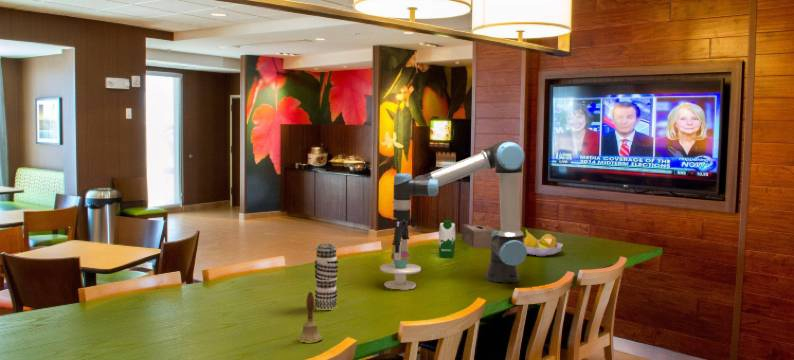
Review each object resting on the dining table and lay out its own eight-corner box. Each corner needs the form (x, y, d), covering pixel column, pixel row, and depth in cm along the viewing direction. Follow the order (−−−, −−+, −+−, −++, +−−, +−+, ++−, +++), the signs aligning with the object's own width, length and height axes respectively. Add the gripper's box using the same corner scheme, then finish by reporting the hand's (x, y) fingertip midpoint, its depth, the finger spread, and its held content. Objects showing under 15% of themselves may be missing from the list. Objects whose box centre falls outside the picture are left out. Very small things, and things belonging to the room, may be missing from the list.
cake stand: (423, 283, 300) (424, 264, 299) (416, 292, 282) (416, 273, 282) (385, 280, 304) (385, 261, 303) (375, 289, 286) (375, 270, 286)
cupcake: (393, 268, 287) (393, 241, 287) (388, 265, 295) (388, 239, 295) (412, 267, 289) (412, 240, 289) (407, 265, 298) (407, 238, 297)
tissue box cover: (462, 240, 411) (462, 224, 410) (484, 240, 414) (485, 224, 413) (473, 248, 386) (473, 231, 385) (497, 248, 388) (497, 231, 387)
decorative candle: (338, 305, 262) (339, 242, 259) (337, 311, 252) (337, 247, 250) (315, 304, 261) (315, 242, 259) (312, 311, 252) (313, 246, 250)
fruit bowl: (567, 259, 359) (568, 238, 358) (517, 258, 360) (518, 237, 359) (556, 249, 387) (557, 230, 386) (510, 248, 388) (510, 229, 387)
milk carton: (438, 258, 355) (439, 221, 353) (438, 254, 364) (439, 218, 362) (454, 258, 354) (455, 221, 352) (454, 255, 363) (455, 219, 361)
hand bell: (292, 340, 220) (292, 292, 218) (310, 333, 226) (310, 288, 225) (310, 345, 214) (310, 297, 213) (327, 339, 221) (328, 292, 220)
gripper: (399, 205, 303) (398, 251, 305) (386, 212, 279) (385, 262, 281) (415, 205, 301) (414, 252, 303) (404, 213, 277) (402, 263, 279)
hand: (400, 257), depth 292 cm, fingers open, 13 cm apart
